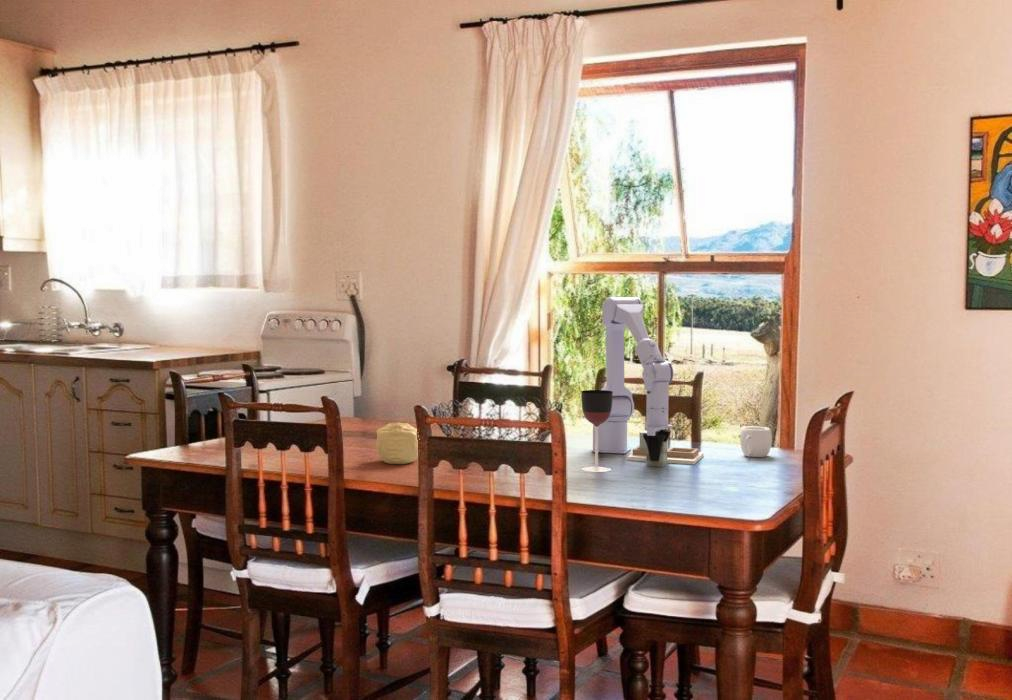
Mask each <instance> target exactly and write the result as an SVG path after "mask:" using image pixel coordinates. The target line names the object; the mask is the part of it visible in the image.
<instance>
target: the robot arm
mask: <svg viewBox="0 0 1012 700" xmlns="http://www.w3.org/2000/svg"><path fill="white" fill-rule="evenodd" d="M601 305H602V307H601V309H602V311H601V312H602V314H601V315H602V317H601V318H602V320H601V321H602V326H604V327H605V379H606V380H605V384H606V385H605V386H604V387H603V388H601V389H600V390H607V391H612V392H613V399H612V409H611V413H610V416H609V418H608V419H607V420H606V421H605V422H604V423H602V424H600V425H599V426H598V453H608V454H626V453H628V452H630V451H631V450H632V448H631V447H628V421H630V418H632V416H633V415H634V412H635V402H634V400H633V392H632V391H631V390H630V389H628V388H627V387H626V385H625V330H626V329H628V330H629V331H630V333H631V335H632V337H633V339H634V341H635V342H636V346H635V352H636V354H637V356H638V360H639V362H640V363H641V366H642V368H643V369H642V372H641V373H642V379H643V383H644V390H645V391H646V399H645V400H646V401H645V402H646V410H645V411H646V413H645V416H646V417H645V418H646V420H645V424H644V425H645V428H646V431H647V433H644V434H643V438H644V439H645V441H646V444H647V447H648V451H649V457H650V460H651V461H659V458H660V452H661V446H662V443H663V441H667V442H668V439H669V438H670V435H671V432H672V431H671V430H667V429H673V427H674V426H673V424H669V399H670V398H669V394H670V393H669V390H670V389H669V385H670V383H672V381H673V378H674V369H673V366H672V363H671V362H670V361H667V359H666V358H663V356H662V355H663V354H661V351H660V348H659V347H658V346H659V345H658V344H657V342H656V341H655V340H654V339H652V338H651V339H650V337H649V334H648V329H647V328H646V325H645V324H646V323H645V322H644V319H643V315H644V305H643V302H642V300H641V298H640V297H639V296H633V297H632V296H631V297H629V296H628V297H627V296H625V297H624V296H623V297H618V296H617V297H611V296H608V297H607V298H605V300H604V302H603V303H602V304H601ZM592 425H593V424H592ZM591 452H593V453H595V425H593V427H592V450H591Z"/></svg>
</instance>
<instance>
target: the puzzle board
mask: <svg viewBox="0 0 1012 700" xmlns="http://www.w3.org/2000/svg"><path fill="white" fill-rule="evenodd" d="M644 433H647V429H646V430H641V431H639V445H637V446H636V447H635V448H633V449H632V453H631V454H629V455H627V456H626V461H633V462H634V461H635V462H646V450H647V444H646V441H645V439H644V438H643V434H644ZM703 457H704V452H700V449H699V448H691V447H690V448H688V447H677V446H676V447H675V446H671V447H669V448H667V464H680V465H695V464H696V463H698V462H699V460H701V459H702V458H703Z"/></svg>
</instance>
